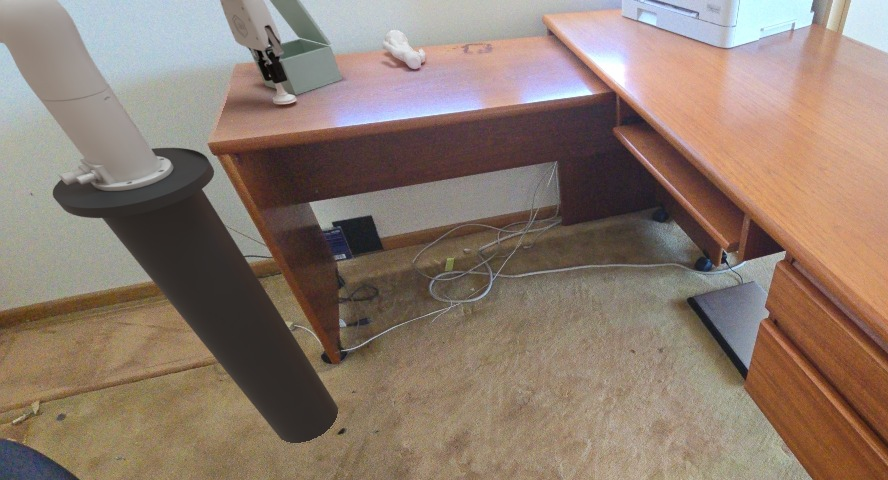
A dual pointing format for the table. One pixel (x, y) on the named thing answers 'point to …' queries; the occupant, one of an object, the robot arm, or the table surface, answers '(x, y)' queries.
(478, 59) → the table surface
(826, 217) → the table surface
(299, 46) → the gray-green box
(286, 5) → the lid
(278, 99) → the chess piece
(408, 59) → the figure
